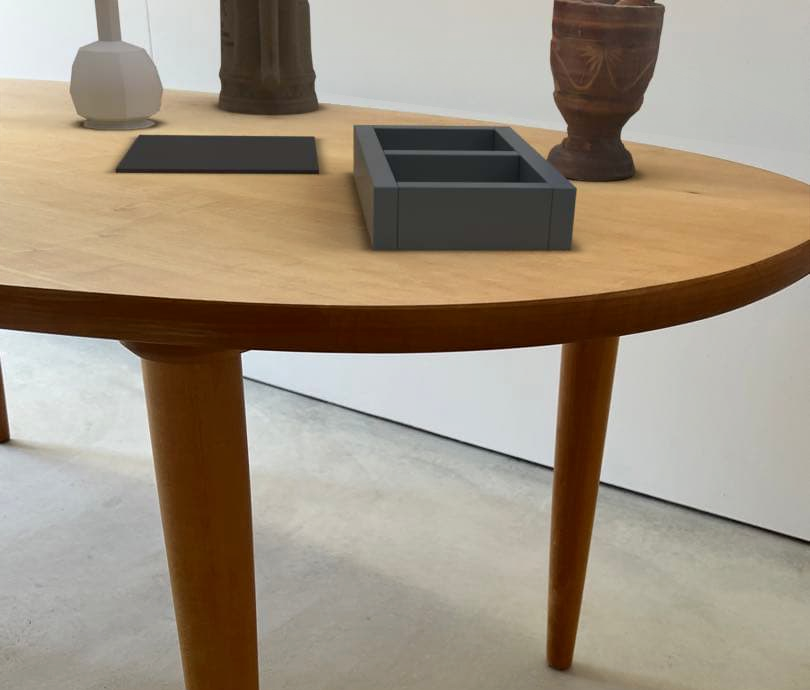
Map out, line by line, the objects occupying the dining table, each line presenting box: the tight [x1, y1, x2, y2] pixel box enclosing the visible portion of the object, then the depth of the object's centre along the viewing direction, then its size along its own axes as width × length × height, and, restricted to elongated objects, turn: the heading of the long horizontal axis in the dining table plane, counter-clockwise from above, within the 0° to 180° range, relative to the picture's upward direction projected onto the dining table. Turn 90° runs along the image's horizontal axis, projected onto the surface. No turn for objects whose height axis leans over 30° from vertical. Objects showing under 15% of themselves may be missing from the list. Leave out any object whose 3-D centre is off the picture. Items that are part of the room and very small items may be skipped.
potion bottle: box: [69, 0, 164, 131], centre depth 104 cm, size 9×9×18 cm
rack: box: [352, 124, 578, 251], centre depth 78 cm, size 12×24×4 cm, turn 5°
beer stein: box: [218, 0, 319, 116], centre depth 114 cm, size 15×11×20 cm
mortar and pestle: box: [546, 0, 666, 182], centre depth 88 cm, size 12×9×20 cm
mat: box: [115, 134, 320, 175], centre depth 95 cm, size 16×16×1 cm
